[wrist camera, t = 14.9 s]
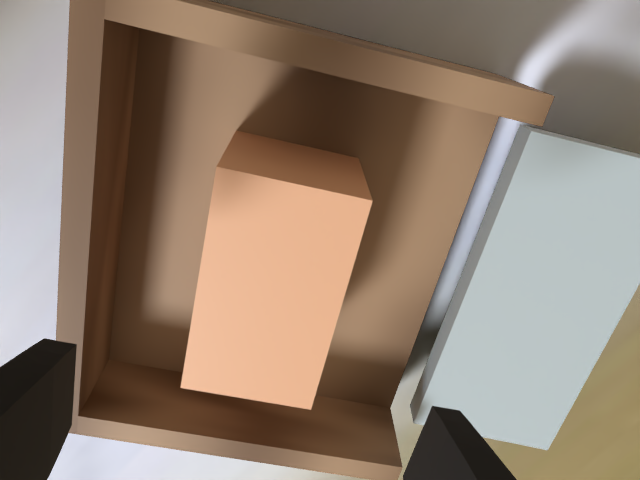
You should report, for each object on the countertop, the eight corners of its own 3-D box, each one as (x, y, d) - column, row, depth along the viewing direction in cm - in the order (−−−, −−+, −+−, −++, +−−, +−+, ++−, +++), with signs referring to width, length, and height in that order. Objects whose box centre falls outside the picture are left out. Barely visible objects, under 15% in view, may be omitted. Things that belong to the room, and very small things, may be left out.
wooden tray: (100, 349, 22) (52, 430, 18) (131, -20, 16) (70, -27, 12) (380, 398, 23) (396, 483, 19) (496, 74, 18) (554, 96, 13)
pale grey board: (413, 423, 20) (547, 450, 21) (531, 131, 16) (700, 173, 16) (408, 395, 22) (533, 421, 22) (514, 120, 17) (669, 159, 18)
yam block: (204, 315, 19) (180, 387, 16) (236, 130, 17) (216, 166, 13) (310, 334, 20) (310, 409, 16) (358, 158, 17) (373, 200, 13)
